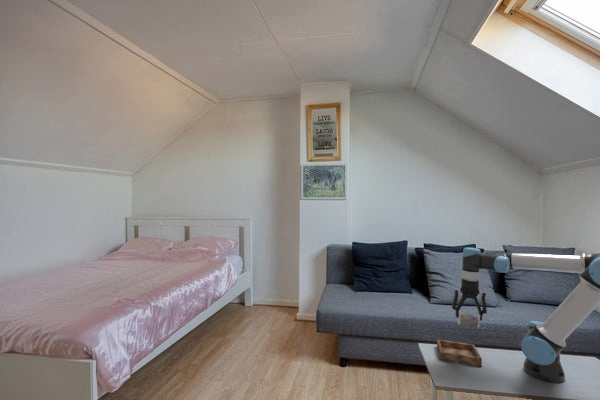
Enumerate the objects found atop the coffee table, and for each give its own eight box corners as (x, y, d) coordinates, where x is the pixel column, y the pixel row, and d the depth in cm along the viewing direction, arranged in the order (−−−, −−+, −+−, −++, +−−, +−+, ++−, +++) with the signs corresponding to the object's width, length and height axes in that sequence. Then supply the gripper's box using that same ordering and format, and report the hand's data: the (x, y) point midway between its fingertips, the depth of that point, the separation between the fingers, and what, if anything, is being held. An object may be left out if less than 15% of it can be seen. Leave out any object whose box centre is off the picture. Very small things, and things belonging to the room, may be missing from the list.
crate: (474, 352, 165) (474, 344, 166) (481, 367, 150) (481, 358, 150) (436, 346, 171) (437, 339, 171) (440, 360, 156) (440, 352, 156)
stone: (452, 321, 161) (453, 309, 161) (467, 321, 162) (467, 309, 162) (464, 329, 151) (465, 317, 151) (480, 329, 152) (480, 317, 152)
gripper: (491, 279, 156) (489, 325, 156) (446, 275, 162) (444, 319, 162) (496, 283, 149) (494, 331, 149) (448, 278, 155) (446, 324, 155)
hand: (468, 325), depth 156 cm, fingers closed on stone, 8 cm apart
